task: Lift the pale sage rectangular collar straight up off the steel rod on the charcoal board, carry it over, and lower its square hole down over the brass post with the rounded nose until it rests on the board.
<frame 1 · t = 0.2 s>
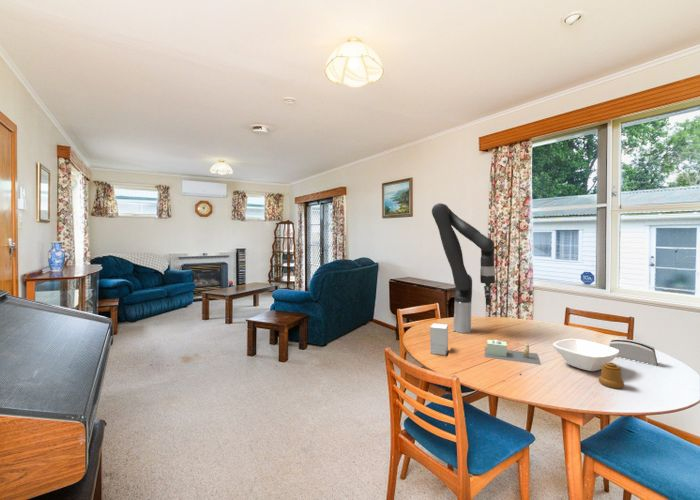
hand: (488, 303, 187), 17 cm above the table, tool pointing down, fingers open, 8 cm apart
grey curved slab: (631, 360, 150), on the table
bowl: (584, 367, 142), on the table
collar: (496, 353, 153), point 1 cm above the table, touching board
ornamental finial: (610, 385, 125), on the table
board: (511, 358, 151), on the table
supplement box: (439, 352, 160), on the table
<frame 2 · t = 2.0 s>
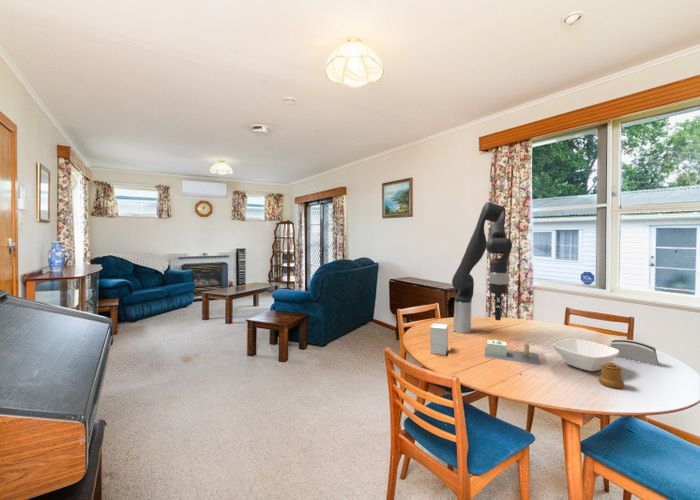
hand: (497, 317, 152), 18 cm above the table, tool pointing down, fingers open, 8 cm apart
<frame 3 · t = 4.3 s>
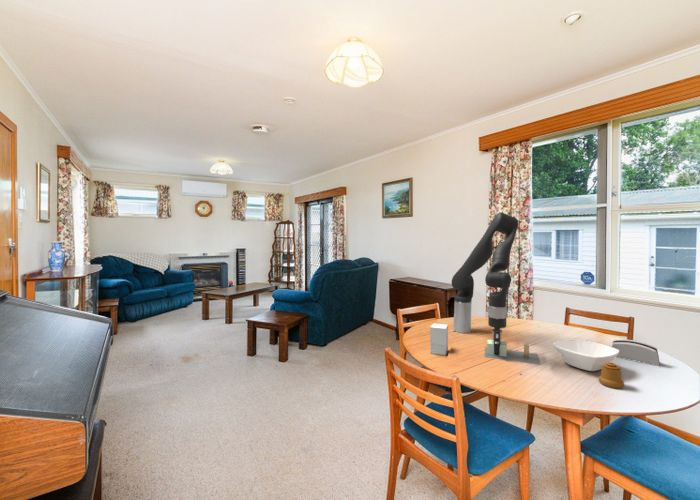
hand: (496, 352, 153), 2 cm above the table, tool pointing down, fingers closed on collar, 6 cm apart
collar: (496, 353, 153), point 2 cm above the table, touching board, gripper
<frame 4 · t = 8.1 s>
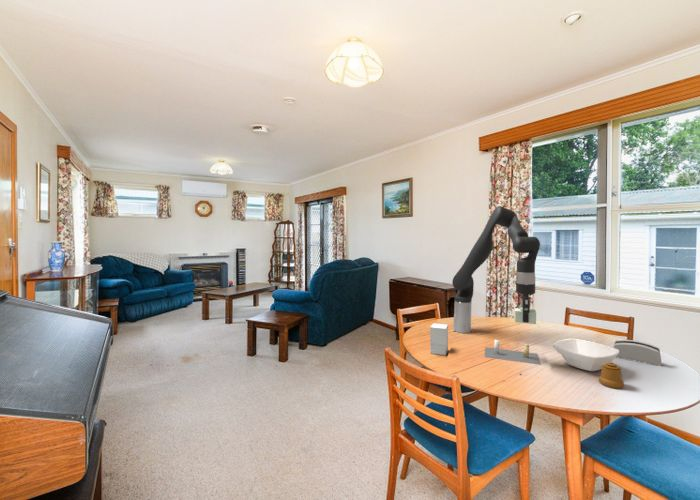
hand: (525, 320, 148), 18 cm above the table, tool pointing down, fingers closed on collar, 6 cm apart
collar: (525, 321, 148), point 17 cm above the table, touching gripper
when the fingers open (3 cm above the table, at t = 11.9 s): collar stays where it is, resting on board.
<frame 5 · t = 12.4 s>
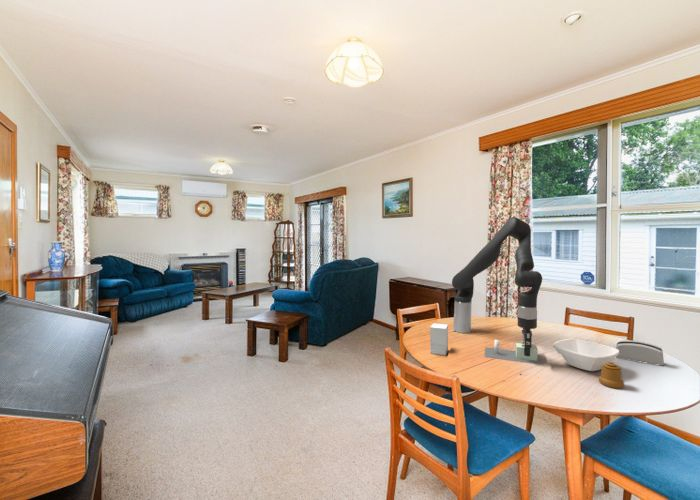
hand: (526, 352, 148), 4 cm above the table, tool pointing down, fingers open, 8 cm apart
collar: (526, 357, 149), point 1 cm above the table, touching board
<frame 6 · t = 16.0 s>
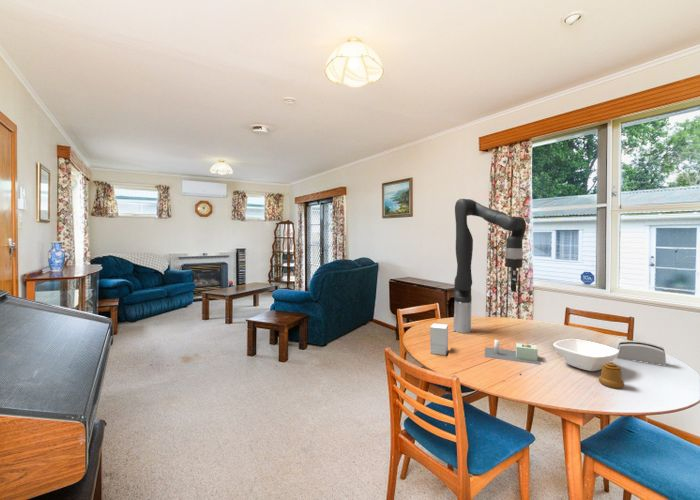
hand: (513, 290, 166), 28 cm above the table, tool pointing down, fingers open, 8 cm apart
at the end: collar 0.1 cm from the target spot, point 1.5 cm above the table; collar tilted 0°; the gripper is holding nothing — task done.
